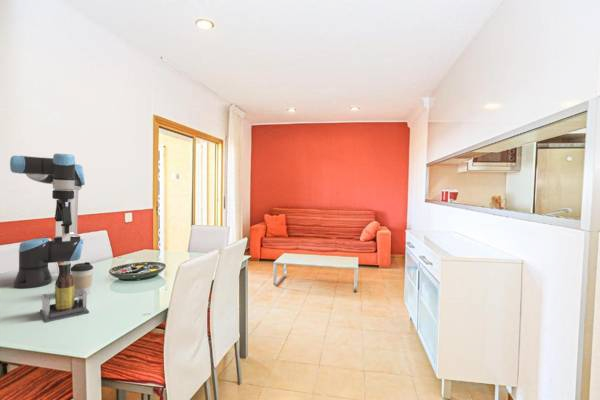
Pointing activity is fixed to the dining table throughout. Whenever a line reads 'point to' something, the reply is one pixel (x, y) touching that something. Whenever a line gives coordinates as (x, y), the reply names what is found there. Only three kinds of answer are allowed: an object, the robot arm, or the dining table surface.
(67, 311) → the clip holder
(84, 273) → the coffee cup
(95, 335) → the dining table surface
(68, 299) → the sauce bottle
